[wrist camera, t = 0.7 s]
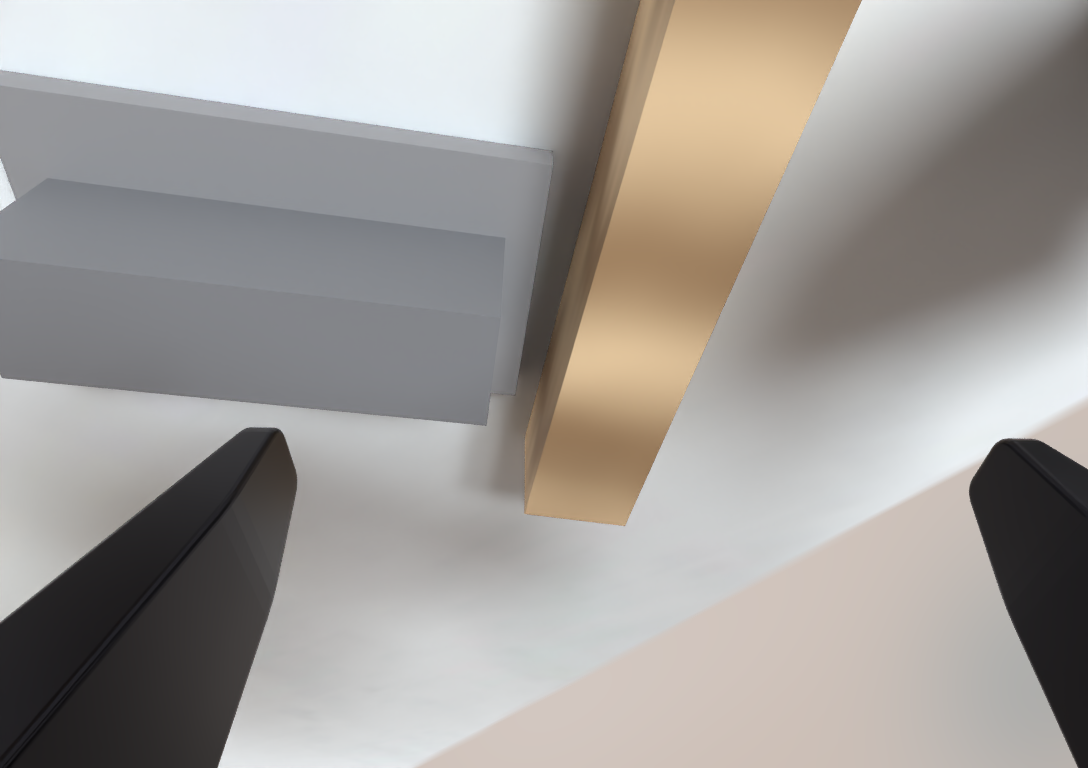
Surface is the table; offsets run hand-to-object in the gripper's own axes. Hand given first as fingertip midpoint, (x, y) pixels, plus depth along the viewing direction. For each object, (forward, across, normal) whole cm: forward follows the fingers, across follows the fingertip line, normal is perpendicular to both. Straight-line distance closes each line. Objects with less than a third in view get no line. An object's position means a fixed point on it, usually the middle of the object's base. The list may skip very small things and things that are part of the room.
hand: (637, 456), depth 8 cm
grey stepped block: (+12, +8, +4) cm, 15 cm away
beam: (+12, -2, +2) cm, 13 cm away
